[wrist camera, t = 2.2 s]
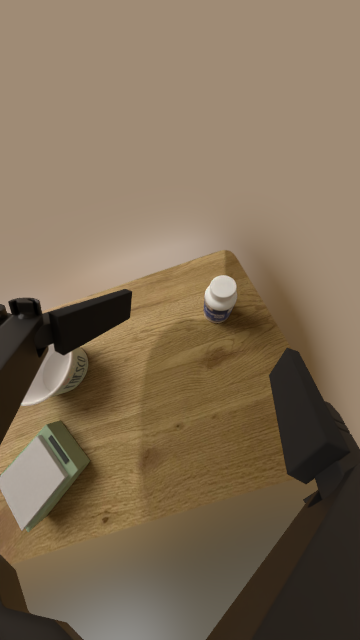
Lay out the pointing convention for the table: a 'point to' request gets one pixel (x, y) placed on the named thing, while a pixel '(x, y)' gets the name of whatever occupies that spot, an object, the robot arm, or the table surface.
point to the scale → (42, 474)
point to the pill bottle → (220, 299)
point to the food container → (57, 375)
